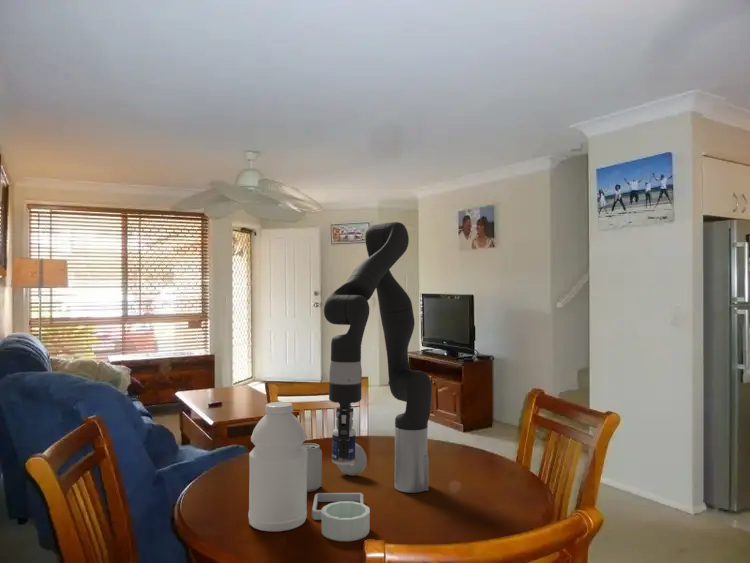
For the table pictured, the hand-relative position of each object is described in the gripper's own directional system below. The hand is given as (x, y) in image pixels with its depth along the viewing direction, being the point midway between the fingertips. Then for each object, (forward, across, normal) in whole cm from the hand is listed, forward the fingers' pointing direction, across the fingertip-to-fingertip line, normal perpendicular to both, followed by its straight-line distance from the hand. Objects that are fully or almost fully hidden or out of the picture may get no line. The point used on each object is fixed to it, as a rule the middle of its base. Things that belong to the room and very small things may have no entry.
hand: (344, 453), depth 132 cm
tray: (+18, +13, +2) cm, 22 cm away
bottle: (+18, +6, +16) cm, 25 cm away
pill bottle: (+2, 0, 0) cm, 2 cm away
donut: (+18, +40, -1) cm, 44 cm away
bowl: (+18, 0, -1) cm, 18 cm away
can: (+18, +29, +11) cm, 35 cm away
